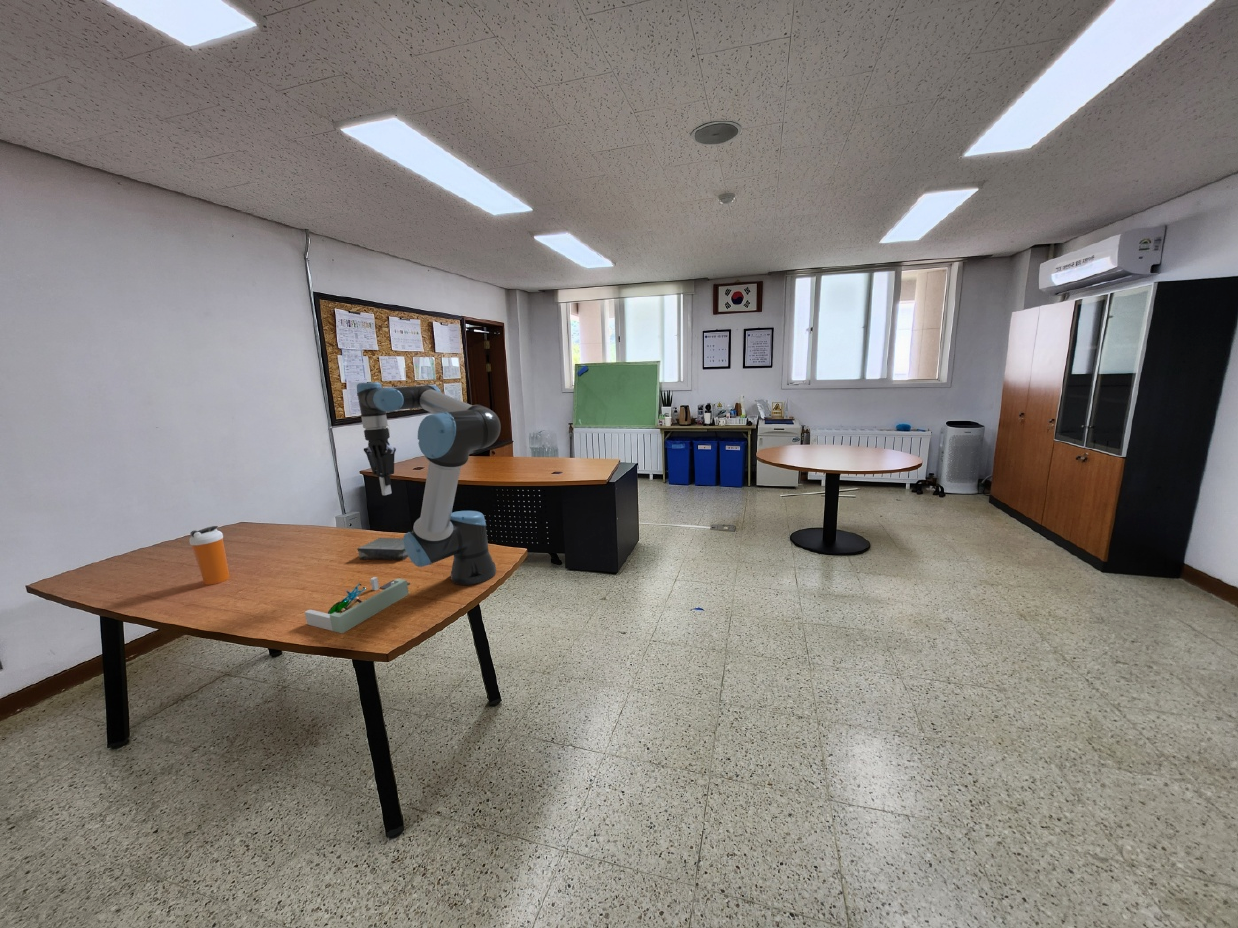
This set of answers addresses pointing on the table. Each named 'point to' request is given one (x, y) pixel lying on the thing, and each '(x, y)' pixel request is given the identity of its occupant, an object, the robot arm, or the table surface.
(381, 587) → the trap mat
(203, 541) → the shaker bottle
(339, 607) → the stick construction toy
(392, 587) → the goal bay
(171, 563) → the table surface
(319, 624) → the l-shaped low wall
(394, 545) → the stone block
